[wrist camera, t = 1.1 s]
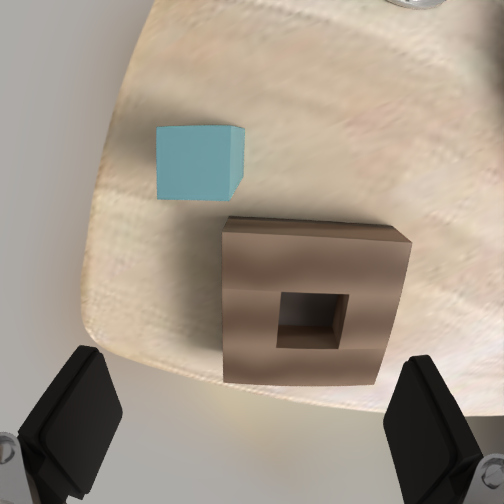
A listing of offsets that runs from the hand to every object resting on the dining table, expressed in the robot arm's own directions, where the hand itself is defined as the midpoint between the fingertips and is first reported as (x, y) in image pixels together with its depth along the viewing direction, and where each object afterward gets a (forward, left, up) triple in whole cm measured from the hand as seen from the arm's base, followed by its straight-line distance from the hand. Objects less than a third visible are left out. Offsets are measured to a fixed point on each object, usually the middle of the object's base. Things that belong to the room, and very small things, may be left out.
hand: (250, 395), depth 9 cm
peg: (-5, -4, -23) cm, 24 cm away
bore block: (+9, +5, -23) cm, 25 cm away
